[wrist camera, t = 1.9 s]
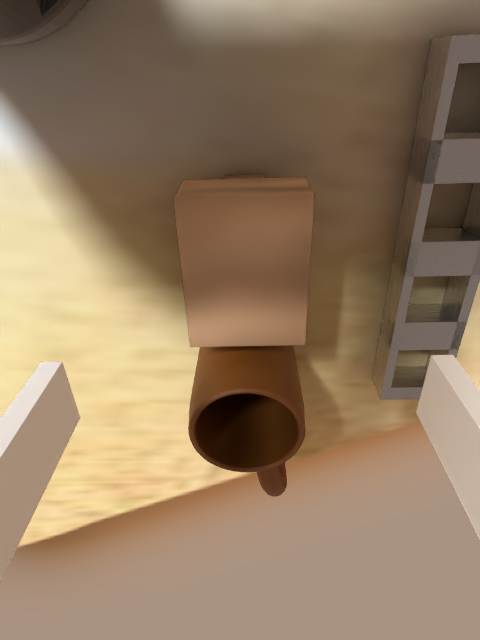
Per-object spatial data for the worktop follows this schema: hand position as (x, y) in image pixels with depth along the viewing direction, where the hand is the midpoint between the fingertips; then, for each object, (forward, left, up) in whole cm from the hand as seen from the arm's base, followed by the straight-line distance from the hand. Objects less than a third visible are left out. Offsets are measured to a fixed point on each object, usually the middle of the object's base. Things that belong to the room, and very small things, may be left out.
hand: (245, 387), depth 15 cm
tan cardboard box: (0, 0, -16) cm, 16 cm away
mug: (+12, 0, -16) cm, 20 cm away
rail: (+1, +13, -16) cm, 21 cm away
